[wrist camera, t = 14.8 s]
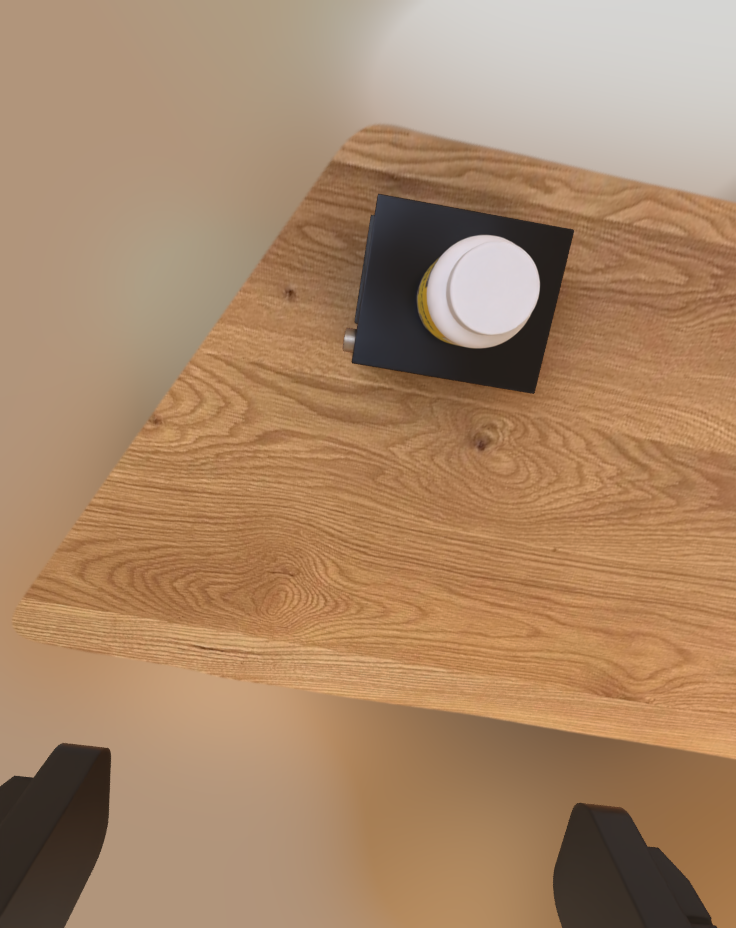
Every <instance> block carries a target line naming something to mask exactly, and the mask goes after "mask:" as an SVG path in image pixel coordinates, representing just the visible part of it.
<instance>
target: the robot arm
mask: <svg viewBox="0 0 736 928" xmlns="http://www.w3.org/2000/svg"><path fill="white" fill-rule="evenodd" d="M110 768H111V753H110V750H109V748H102V747H93V746H84V745H76V744H67V743H62V744H60V745H58V746H57V747H56V748H55V749H54V751H53V752H52V753H51V755H50V756H49V757H48V759H47V760H46V761H45V763H44V764H43V766H42V767H41V768H40V770H39V771H38V772H37V774H36V775H35V777H34V778H31V777H21V776H14V777H12V778H11V779H9V780H8V781H7V782H5V783H4V784H3V785H1V786H0V928H64V927H65V925H66V923H67V921H68V919H69V917H70V915H71V913H72V911H73V908H74V907H75V905H76V903H77V900H78V899H79V897H80V894H81V892H82V890H83V889H84V886H85V884H86V882H87V880H88V878H89V876H90V874H91V872H92V870H93V868H94V866H95V864H96V861H97V859H98V857H99V854H100V852H101V849H102V846H103V842H104V839H105V835H106V830H107V825H108V818H109V793H110ZM553 889H554V899H555V905H556V908H557V913H558V916H559V919H560V922H561V925H562V928H717V927H716V926H713V924H712V922H711V917H710V915H709V913H708V912H707V910H706V908H705V907H704V905H703V903H702V902H701V900H700V898H699V897H698V895H697V893H696V891H695V890H694V888H693V887H692V885H691V883H690V881H689V880H688V879H687V878H686V877H685V876H684V875H683V874H682V873H681V871H680V870H679V869H678V868H677V867H676V866H675V865H674V864H673V863H672V862H671V861H670V860H669V859H668V858H667V857H666V855H665V854H664V853H663V852H662V851H661V850H660V849H659V848H655V847H647V845H646V843H645V841H644V840H643V838H642V836H641V834H640V832H639V831H638V829H637V827H636V825H635V824H634V822H633V820H632V818H631V817H630V815H629V814H628V813H627V811H625V810H624V809H623V808H620V807H611V806H603V805H594V804H585V803H577V804H576V805H575V806H574V808H573V810H572V813H571V816H570V819H569V822H568V826H567V829H566V832H565V835H564V839H563V842H562V845H561V849H560V852H559V855H558V858H557V862H556V865H555V869H554V876H553Z"/></svg>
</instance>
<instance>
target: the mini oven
mask: <svg viewBox="0 0 736 928" xmlns="http://www.w3.org/2000/svg"><path fill="white" fill-rule="evenodd" d="M573 233H574V230H573V229H567V228H562V227H557V226H551V225H546V224H540V223H535V222H529V221H524V220H518V219H513V218H508V217H502V216H497V215H491V214H486V213H480V212H475V211H469V210H464V209H459V208H453V207H448V206H442V205H437V204H431V203H426V202H420V201H415V200H410V199H404V198H399V197H393V196H388V195H382V194H378V197H377V203H376V210H375V215H371V218H370V225H369V231H368V238H367V244H366V251H365V257H364V264H363V270H362V276H361V283H360V289H359V296H358V302H357V309H356V315H355V323H356V324H358V325H357V329H352V328H346V331H345V336H344V343H343V351H346V352H352V353H353V357H352V363H354V364H360V365H366V366H372V367H378V368H384V369H390V370H395V371H401V372H407V373H413V374H419V375H425V376H431V377H437V378H443V379H449V380H455V381H461V382H467V383H473V384H478V385H484V386H490V387H496V388H502V389H508V390H514V391H520V392H526V393H532V394H534V393H535V389H536V385H537V381H538V377H539V373H540V368H541V364H542V360H543V356H544V352H545V348H546V344H547V340H548V336H549V332H550V328H551V323H552V319H553V315H554V311H555V307H556V303H557V299H558V295H559V291H560V287H561V283H562V278H563V274H564V270H565V266H566V262H567V258H568V254H569V250H570V246H571V242H572V238H573ZM478 235H492V236H498V237H501V238H504V239H507V240H509V241H511V242H512V243H514V244H515V245H517V246H519V247H520V248H522V249H523V250H524V251H525V252H526V253H527V254H528V255H529V256H530V257H531V258H532V260H533V261H534V263H535V265H536V268H537V270H538V274H539V280H540V291H539V297H538V300H537V303H536V306H535V308H534V310H533V311H532V313H531V315H530V317H529V319H528V320H527V322H526V323H525V325H524V326H523V327H522V328H521V330H520V331H519V332H518V333H517V334H515V335H514V336H513V337H512V338H510V339H509V340H507V341H505V342H503V343H501V344H499V345H496V346H493V347H488V348H468V347H462V346H458V345H454V344H450V343H446V342H444V341H442V340H440V339H438V338H437V337H435V336H434V335H432V334H431V333H430V332H429V331H428V330H427V329H426V327H425V326H424V324H423V323H422V321H421V318H420V316H419V313H418V308H417V292H418V288H419V285H420V282H421V280H422V278H423V276H424V274H425V272H426V271H427V269H428V268H429V267H430V266H431V265H432V264H433V263H434V262H435V261H436V260H437V259H438V258H439V257H440V256H441V255H442V254H443V253H444V252H445V251H446V250H447V249H448V248H450V247H451V246H452V245H454V244H456V243H457V242H459V241H461V240H463V239H466V238H468V237H472V236H478Z"/></svg>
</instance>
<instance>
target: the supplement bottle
mask: <svg viewBox="0 0 736 928" xmlns="http://www.w3.org/2000/svg"><path fill="white" fill-rule="evenodd" d="M539 291H540V280H539V274H538V270H537V268H536V265H535V263H534V261H533V260H532V258H531V257H530V256H529V255H528V254H527V253H526V252H525V251H524V250H523V249H522V248H520V247H519V246H517V245H515V244H514V243H512V242H511V241H509V240H507V239H504V238H501V237H498V236H492V235H478V236H472V237H468V238H466V239H463V240H461V241H459V242H457V243H456V244H454V245H452V246H451V247H450V248H448V249H447V250H446V251H445V252H444V253H443V254H442V255H441V256H440V257H439V258H438V259H437V260H436V261H435V262H434V263H433V264H432V265H431V266H430V267H429V268H428V269H427V271H426V272H425V274H424V276H423V278H422V280H421V282H420V285H419V288H418V292H417V308H418V313H419V316H420V318H421V321H422V323H423V324H424V326H425V327H426V329H427V330H428V331H429V332H430V333H431V334H432V335H434V336H435V337H437V338H438V339H440V340H442V341H444V342H446V343H450V344H454V345H458V346H462V347H468V348H488V347H493V346H496V345H499V344H501V343H503V342H505V341H507V340H509V339H510V338H512V337H513V336H514V335H515V334H517V333H518V332H519V331H520V330H521V328H522V327H523V326H524V325H525V323H526V322H527V320H528V319H529V317H530V315H531V313H532V311H533V310H534V308H535V306H536V303H537V300H538V297H539Z"/></svg>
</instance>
